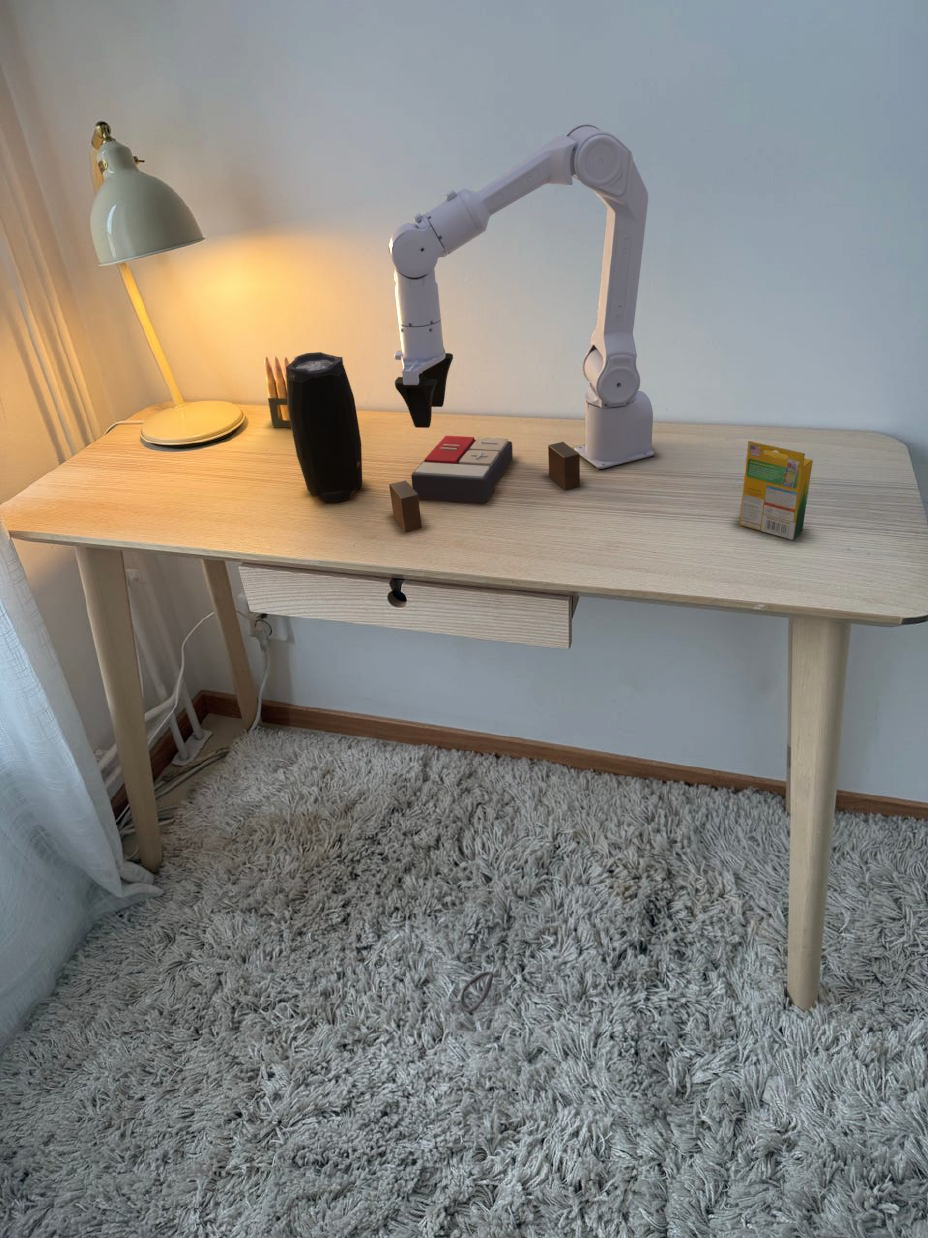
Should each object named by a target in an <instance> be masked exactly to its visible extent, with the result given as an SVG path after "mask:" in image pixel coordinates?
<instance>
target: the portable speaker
mask: <svg viewBox="0 0 928 1238" xmlns="http://www.w3.org/2000/svg"><path fill="white" fill-rule="evenodd" d="M295 357H296V358H295V359H294V358H293V360H292V361H291V362H289V365H288V366H287V367H286V381H287V407H288V413H289V418H290V423H291V427H290V428H291V433H292V439H293V442H294V448H295V453H296V457H297V461H298V465H299V466H300V470H301V473H302V476H303V480H304V482H305V485H306V489H307V491H308V492H309V494H310V495H312V494H313V495H314V496H316V497H318V498H319V499H320V500H322V501H323V502H324V503H326V504H332V503H333V504H334V503H339V502H340V503H341V502H344V501H347V500H350V498H351V496H352V495H353V493H354V492H355V491H356V490H358V489H360V488H363V458H362V457H363V456H362V453H363V452H362V449H363V448H362V439H361V433H360V426H359V419H358V414H357V407H356V401H355V396H354V393H353V389H352V387H351V384H350V380H349V378H348V374H347V371H346V368H345V364H344V360H343V356H337V355H332V354H327V353H325V352H322V351H318V352H306V353H303V354H300V355H296V356H295Z"/></svg>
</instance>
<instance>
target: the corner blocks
mask: <svg viewBox="0 0 928 1238" xmlns="http://www.w3.org/2000/svg"><path fill="white" fill-rule="evenodd" d="M547 453H548V456H547V457H548V478H550V480H552V481H553V482H554V483H556V484H557V485H558V487H560V488H562V489H563V490H564V491H567V490H571V489H574V488H575V489H576V488H578V487H580V486H581V478H580V477H581V475H580V474H581V463H580V462H581V455H580V454H579V453H578V452H576V451H575V450H574V448H572V447H571V446H570V445H568V444H567V443H565V441H559V442H556V443H551V444H548V445H547ZM388 486H389V494H390V499H391V500H390V502H391V509H392V516H393V518H394V520H395V521H396V522H397V523H398V525H399V526H400V527H401V528H402V530H403V531H404V532H405V533H407V532H410V531H414V530H418V529H422V528H423V525H422V518H421V517H422V516H421V507H420V500H419V499H420V498H418V494H417V493H416V492H415V490H414V489H413V488H412V485H410V483H409V482H407V480H406V479H404V480H401V481H398V482H393V483H389V484H388Z"/></svg>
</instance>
